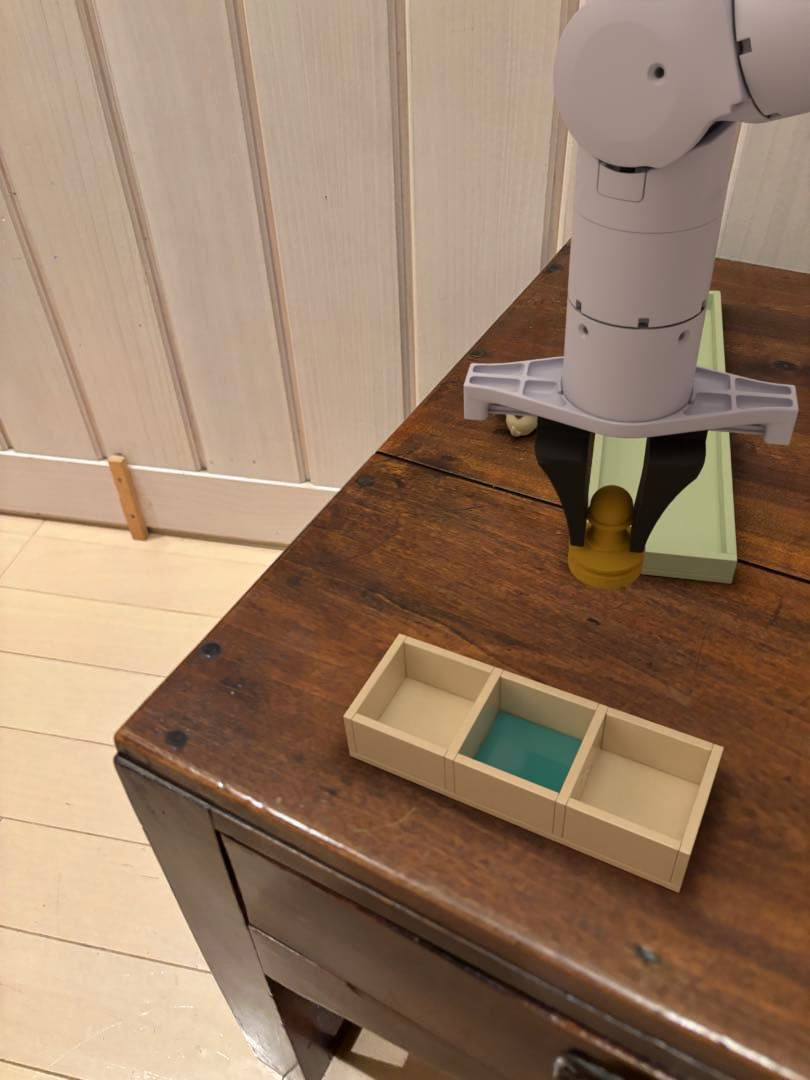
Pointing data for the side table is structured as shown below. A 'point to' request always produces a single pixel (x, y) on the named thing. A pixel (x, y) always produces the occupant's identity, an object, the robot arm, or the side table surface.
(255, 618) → the side table surface
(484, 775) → the three-compartment organizer
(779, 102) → the robot arm
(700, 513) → the tray
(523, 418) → the toy dog
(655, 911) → the side table surface
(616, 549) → the chess piece
